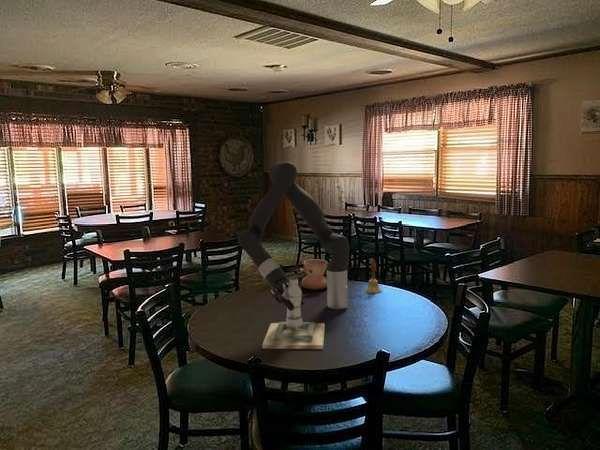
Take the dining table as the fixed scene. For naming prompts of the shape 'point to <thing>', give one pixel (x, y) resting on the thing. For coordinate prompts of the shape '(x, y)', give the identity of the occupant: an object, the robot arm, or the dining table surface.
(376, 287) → the hand bell
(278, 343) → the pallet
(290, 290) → the plastic bottle
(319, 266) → the ceramic jug
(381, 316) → the dining table surface
